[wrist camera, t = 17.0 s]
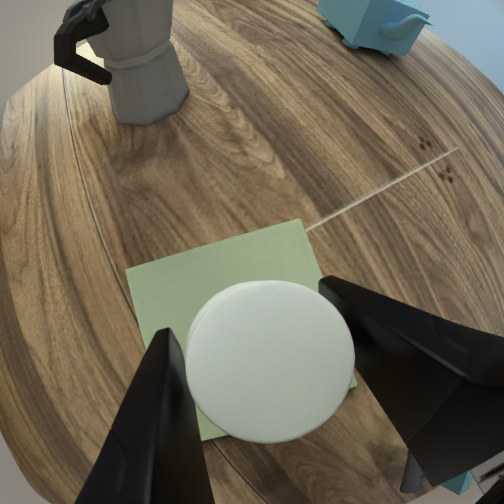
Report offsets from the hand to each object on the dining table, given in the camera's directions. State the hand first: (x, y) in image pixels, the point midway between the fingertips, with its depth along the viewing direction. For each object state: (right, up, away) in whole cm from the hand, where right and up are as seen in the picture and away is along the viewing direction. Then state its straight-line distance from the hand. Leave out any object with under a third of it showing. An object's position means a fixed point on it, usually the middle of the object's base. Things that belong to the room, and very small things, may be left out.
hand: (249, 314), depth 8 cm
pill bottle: (0, -3, +6) cm, 7 cm away
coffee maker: (-11, +17, +16) cm, 26 cm away
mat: (-1, -4, +11) cm, 12 cm away
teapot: (+18, +36, +24) cm, 47 cm away
